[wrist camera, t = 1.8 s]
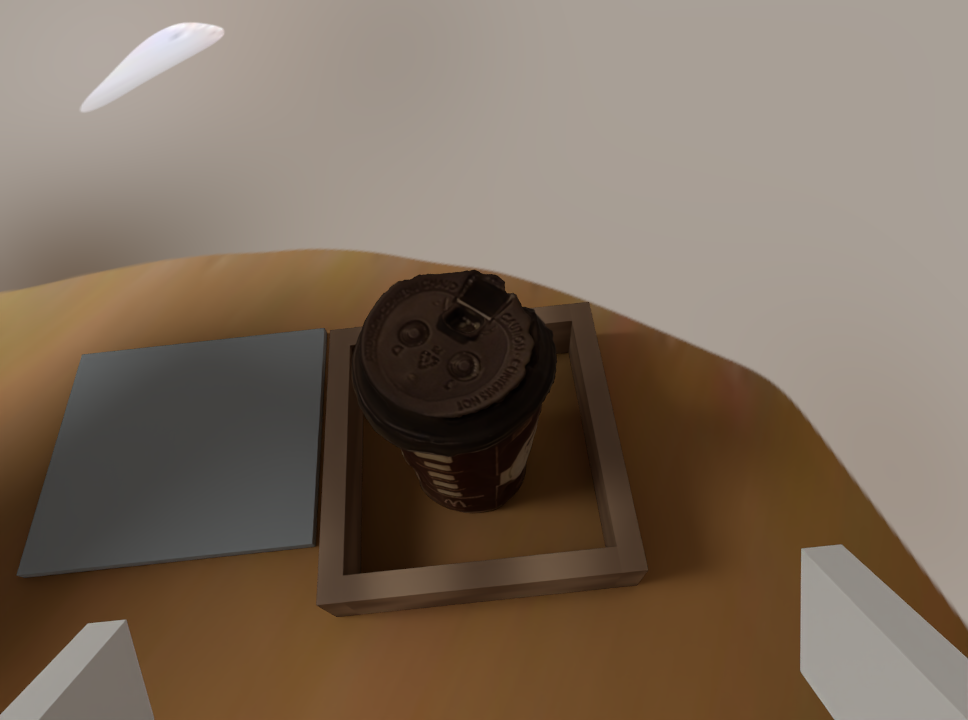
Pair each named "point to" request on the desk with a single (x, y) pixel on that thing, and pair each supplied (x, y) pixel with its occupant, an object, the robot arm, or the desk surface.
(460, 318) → the coffee cup
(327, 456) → the square frame
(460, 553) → the desk surface
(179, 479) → the mat
